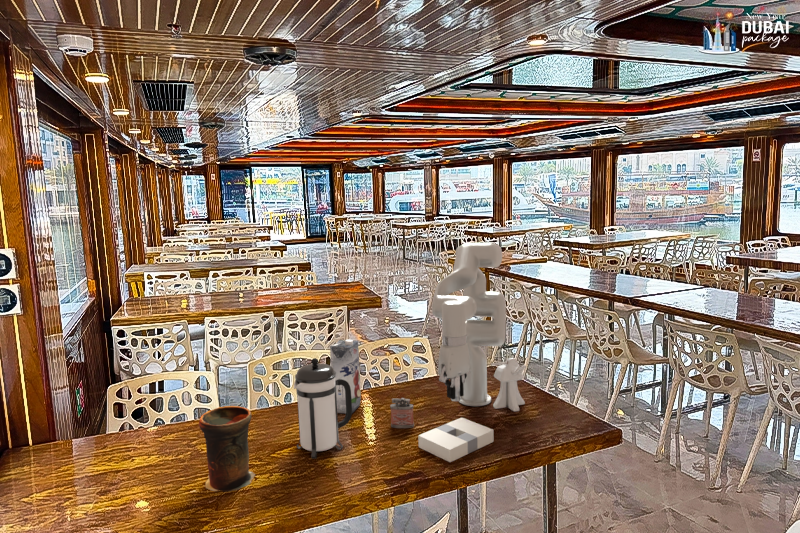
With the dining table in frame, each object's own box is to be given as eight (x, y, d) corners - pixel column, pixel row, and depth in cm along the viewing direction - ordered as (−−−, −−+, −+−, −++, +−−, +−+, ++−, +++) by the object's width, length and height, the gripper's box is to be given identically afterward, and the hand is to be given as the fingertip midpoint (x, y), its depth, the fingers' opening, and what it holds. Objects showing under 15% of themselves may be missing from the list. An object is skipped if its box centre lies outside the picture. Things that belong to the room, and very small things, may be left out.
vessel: (236, 462, 176) (232, 400, 173) (265, 477, 167) (261, 412, 164) (193, 482, 165) (188, 416, 162) (222, 499, 156) (217, 430, 153)
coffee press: (338, 461, 175) (333, 366, 170) (288, 457, 178) (283, 365, 174) (353, 436, 191) (349, 350, 187) (308, 434, 195) (303, 348, 190)
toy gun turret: (484, 402, 217) (483, 356, 215) (515, 397, 221) (515, 352, 219) (498, 414, 206) (498, 365, 204) (531, 408, 210) (531, 361, 207)
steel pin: (445, 399, 181) (445, 369, 180) (455, 396, 184) (454, 366, 183) (455, 403, 178) (455, 372, 176) (465, 399, 181) (464, 369, 179)
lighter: (414, 424, 200) (413, 396, 198) (413, 428, 197) (412, 400, 195) (391, 423, 201) (390, 396, 199) (390, 427, 197) (389, 400, 196)
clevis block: (450, 462, 171) (449, 449, 171) (418, 447, 182) (418, 435, 181) (493, 441, 184) (493, 429, 184) (461, 428, 195) (461, 417, 194)
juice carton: (330, 413, 211) (327, 343, 208) (341, 403, 221) (338, 335, 217) (353, 415, 209) (349, 344, 205) (363, 405, 219) (360, 336, 215)
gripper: (463, 333, 186) (464, 387, 189) (427, 343, 176) (428, 400, 178) (480, 337, 181) (481, 393, 183) (444, 347, 170) (445, 406, 173)
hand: (455, 396), depth 181 cm, fingers closed on steel pin, 3 cm apart
